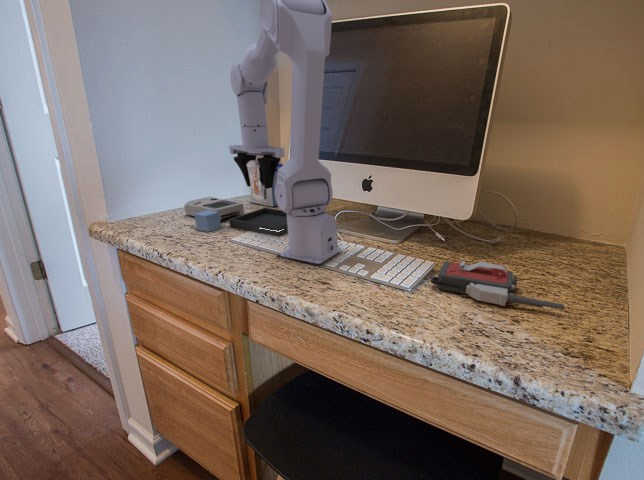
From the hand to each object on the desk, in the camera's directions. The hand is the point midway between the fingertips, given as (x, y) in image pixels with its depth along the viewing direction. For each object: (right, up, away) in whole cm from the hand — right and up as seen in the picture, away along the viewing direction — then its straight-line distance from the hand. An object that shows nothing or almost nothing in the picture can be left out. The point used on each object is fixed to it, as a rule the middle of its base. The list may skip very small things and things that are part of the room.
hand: (260, 186), depth 89 cm
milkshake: (0, -3, +1) cm, 3 cm away
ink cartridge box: (-5, 0, +26) cm, 26 cm away
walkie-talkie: (+46, -24, -29) cm, 59 cm away
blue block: (-13, -10, +2) cm, 16 cm away
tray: (+1, -8, +6) cm, 10 cm away
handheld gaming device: (-16, -5, +13) cm, 21 cm away
